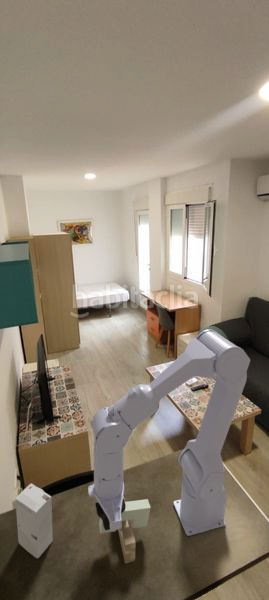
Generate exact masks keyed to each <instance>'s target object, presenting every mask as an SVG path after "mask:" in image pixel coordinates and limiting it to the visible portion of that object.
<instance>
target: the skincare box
mask: <svg viewBox="0 0 269 600" xmlns="http://www.w3.org/2000/svg"><path fill="white" fill-rule="evenodd" d="M52 499H53V498H52V496H51V495H50V494H48V493H46V492H45V491H44V490H43V489H42V488H41V487H38V486H36V485H35V484H33V483H29V485H27V486H26V487H25V488H24V489H23V490H22V491H21V492H20V493H19V494H18V495H17V496H16V497H15V512H16V525H17V528H16V529H17V539H18V543H19V545H20V546H21V547H22V548H23V549H24V550H26V552H28V553H29V554H30V555H31V556H33V557H34V558H35V559H39V558H40V557H41V556H42V554H43V553H45V552H46V550H47V549H48V547H49V546H50V545H51V544H52V542H53V541H54V540H53V508H52V507H53V505H52Z"/></svg>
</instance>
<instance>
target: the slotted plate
mask: <svg viewBox="0 0 269 600" xmlns="http://www.w3.org/2000/svg"><path fill="white" fill-rule="evenodd" d="M125 505H126V507H125V511H124V512H123V513H122V514H121V519H122V521H126V520H128V521H130V526H132V530H133V529H139V528H145V527H147V526H148V521H149V518H150V513H151V509H152V507H151V504H150V502H149V499H148V498H146V499H138V500H130V501H125ZM98 520H99V521H98V526H99V527H98V528H99V534H105V533H111V532H116V531H117V530H113V531H110V530H105V529H104V526H103V521H102V519H101V518H100V517H99V519H98Z"/></svg>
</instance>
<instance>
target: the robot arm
mask: <svg viewBox="0 0 269 600" xmlns="http://www.w3.org/2000/svg"><path fill="white" fill-rule="evenodd" d="M250 362H251V358H250V357H249V356H248V354H247V353H246V352H245V350H244V349H243V348H241V347H239V346H237V345H236V344H235V343H233V342H231V341H230V340H228V339H226V337H224V336H222V335H221V334H220V333H218V332H217V331H216V330H214V329H204V330H202V331H200V332H199V333H198V334H197V336H195V337H194V338H192V339H191V340H189V342H188V343H187V346H186V348H185V350H184V351H183V352H182V353H181V354H180V355H179V356H178V357H177V358H176V359H175V360H174V361H173V362H171V364H169V365H168V367H166V368H165V369H164V370H163V371H162V372H161V373H160V374H159V375H157V376H156V378H154V379H153V380H152V381H151V382H150V383H149V384H141V383H140V384H137V386H134V387H131V388H130V389H128V391H127V393H126V394H125V395H123V396H122V397H121V398H120V399H119V400H117V401H116V402H115V403H114V404H112V405H110V406H109V407H106V406H105V407H103V408H100V409H99V410H97V411H96V412H95V413H94V415H93V416H92V417H93V418H91V420H89V421H90V422H89V423H90V427H91V429H92V432H93V483H92V484H91V485H89V486H88V488H87V492H88V497H90V498H95V499H96V501H97V502H95V511H96V514H97V517H98V518H99V519H100V518H101V519H102V521H103V526H104V529H105V530H110V531H113V530H116V531H118V529H121V528H122V519H121V514H122V513H123V512H124V511H125V507H126V505H125V502H126V500H125V501H124V499H125V498H124V499H123V496H124V495H125V494H124V493H125V482H124V461H125V460H124V455H125V454H124V453H125V447H126V445H127V444H128V442H129V440H130V439H129V438H130V437H131V436H132V435H133V431H134V430H135V429H136V428H138V427H139V426H140V425H141V424H142V423H144V422H145V421H146V420H148V419H149V417H151V416H152V415H154V414H155V413H156V412H157V411H158V410H159V408H160V407H159V406H160V401H161V400H162V399H163V398H165V397H166V396H168V395H169V394H171V393H172V392H173V391H175V390H176V389H178V388H180V386H182V385H183V384H186V383H187V382H188V381H189V380H191V379H193V378H194V377H200V378H206V379H210V380H214V379H215V382H214V385H213V387H212V391H211V395H210V397H209V400H208V403H207V406H206V409H205V411H204V415H203V417H202V421H201V424H200V426H199V429H198V432H197V435H196V438H195V439H190V440H188V441H187V442H186V445H185V447H184V449H183V450H182V451H181V452H180V454H179V457H178V464H179V466H180V468H182V482H181V483H182V484H181V493H180V494H181V495H180V499H177V500H174V501H173V506H174V508H175V511H176V514H177V516H178V518H179V521H180V523H181V526H182V527H183V530H184V532H185V534H186V536H193V535H197V534H200V533H205V532H207V531H208V532H209V531H211V530H215V529H218V528H221V527H225V526H226V521H225V514H226V506H227V493H226V489H225V485H224V484H225V483H224V476H225V472H226V469H225V466H224V463H223V459H222V455H221V452H222V449H223V447H224V444H225V442H226V439H227V435H228V432H229V429H230V427H231V424H232V422H233V418H234V416H235V413H236V411H237V408H238V406H239V402H240V399H241V397H242V394H243V390H244V388H245V385H246V383H247V380H248V379H247V378H248V376H247V375H248V374H247V373H248V372H247V371H248V368H249V366H250ZM113 532H114V531H113Z"/></svg>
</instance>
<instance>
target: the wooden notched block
mask: <svg viewBox="0 0 269 600" xmlns="http://www.w3.org/2000/svg"><path fill="white" fill-rule="evenodd" d="M123 499H124V501H125V502H126V500H125V499H126V498H125V496H124V495H123ZM117 531H118V536H119V541H120V546H121V551H122V555H123V559H124V563H125V564H129V563H132V562H135V561H136V546H137V545H136V543H137V542H136V539H135V535H134V531H133V529H132V525H130V524H129V520H126V521H122V528H121V529H118V530H117Z"/></svg>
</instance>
